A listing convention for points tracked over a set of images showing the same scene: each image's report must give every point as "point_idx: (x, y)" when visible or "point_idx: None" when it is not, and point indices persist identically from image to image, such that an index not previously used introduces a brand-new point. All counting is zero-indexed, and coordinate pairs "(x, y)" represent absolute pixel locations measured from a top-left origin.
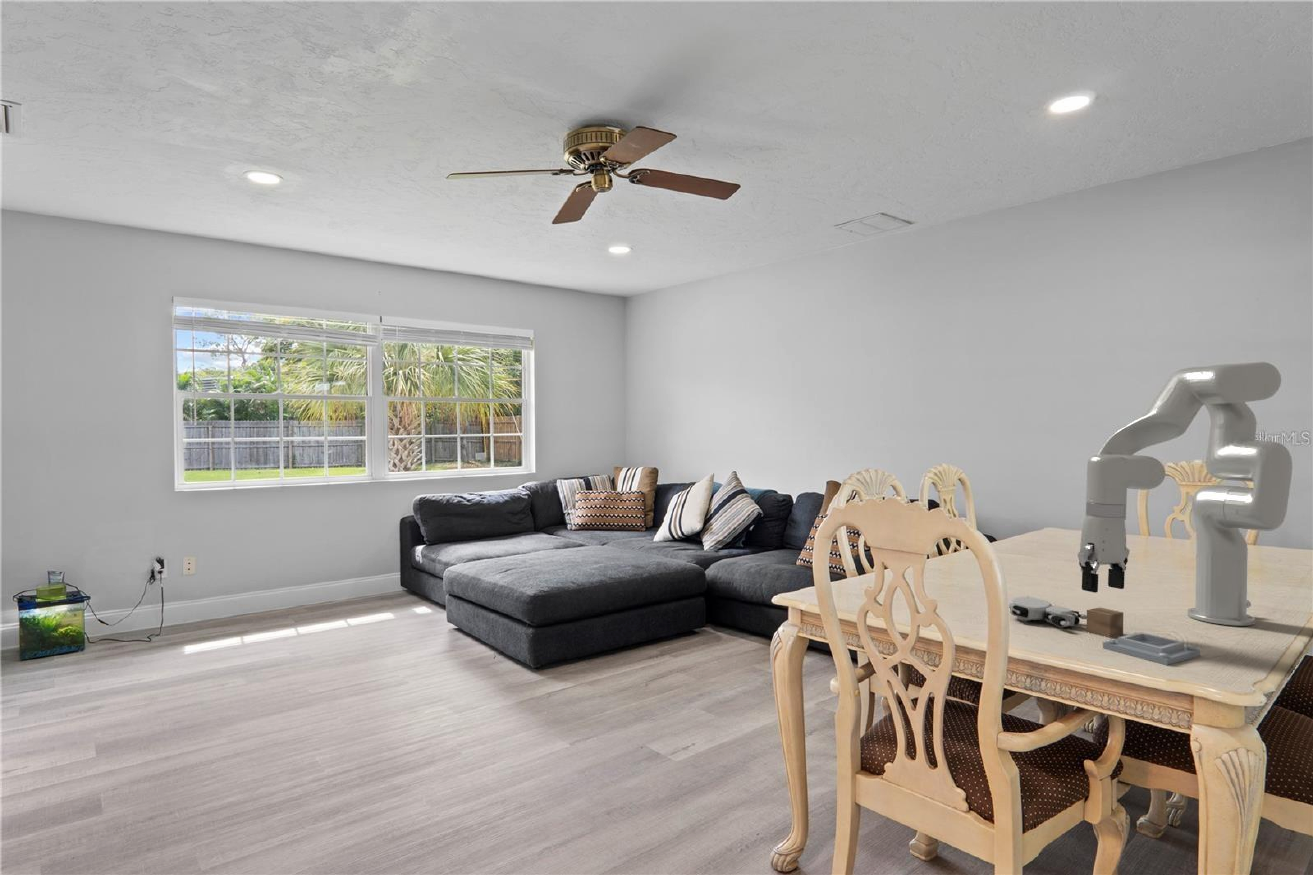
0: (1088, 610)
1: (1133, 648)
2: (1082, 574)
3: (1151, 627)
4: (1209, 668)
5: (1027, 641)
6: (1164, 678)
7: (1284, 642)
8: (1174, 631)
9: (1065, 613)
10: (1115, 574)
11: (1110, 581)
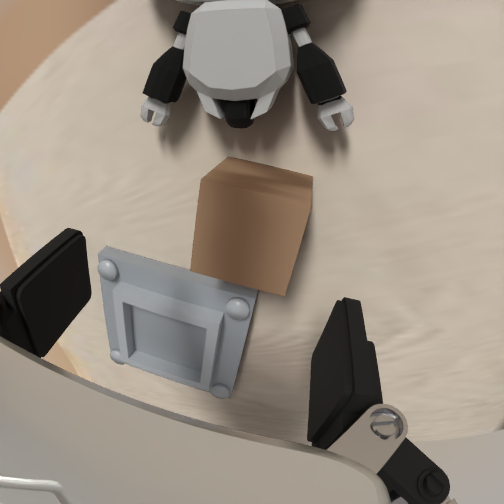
0: (200, 186)
1: (114, 311)
2: (13, 275)
3: (451, 288)
4: (166, 393)
5: (19, 108)
6: (62, 345)
7: (444, 438)
8: (436, 333)
9: (198, 86)
10: (324, 398)
11: (334, 332)
